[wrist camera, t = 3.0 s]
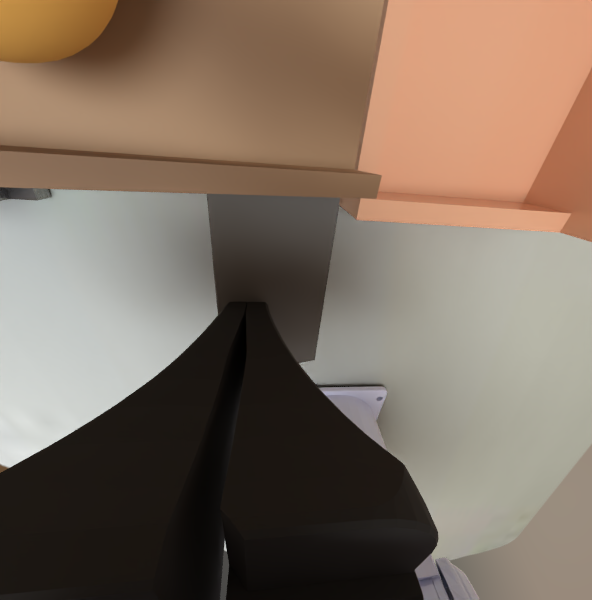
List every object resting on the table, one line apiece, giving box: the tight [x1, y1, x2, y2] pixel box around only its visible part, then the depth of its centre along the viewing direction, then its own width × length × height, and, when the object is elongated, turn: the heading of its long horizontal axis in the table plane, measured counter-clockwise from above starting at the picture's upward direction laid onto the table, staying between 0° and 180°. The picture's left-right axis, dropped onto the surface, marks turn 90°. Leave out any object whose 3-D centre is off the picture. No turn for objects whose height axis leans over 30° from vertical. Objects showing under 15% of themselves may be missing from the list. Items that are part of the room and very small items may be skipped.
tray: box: [339, 0, 592, 242], centre depth 9 cm, size 10×10×5 cm
